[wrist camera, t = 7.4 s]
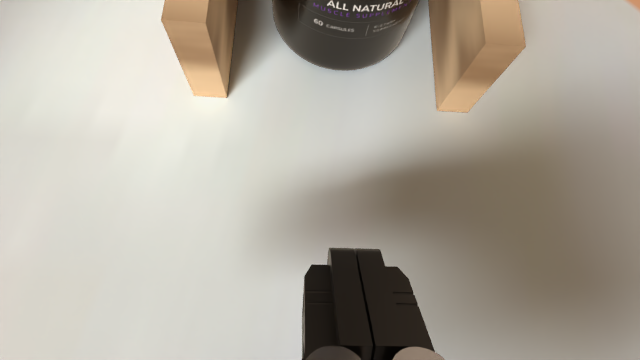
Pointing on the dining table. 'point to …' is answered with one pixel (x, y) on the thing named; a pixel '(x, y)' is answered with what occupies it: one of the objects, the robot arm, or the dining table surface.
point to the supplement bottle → (342, 29)
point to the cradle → (446, 35)
